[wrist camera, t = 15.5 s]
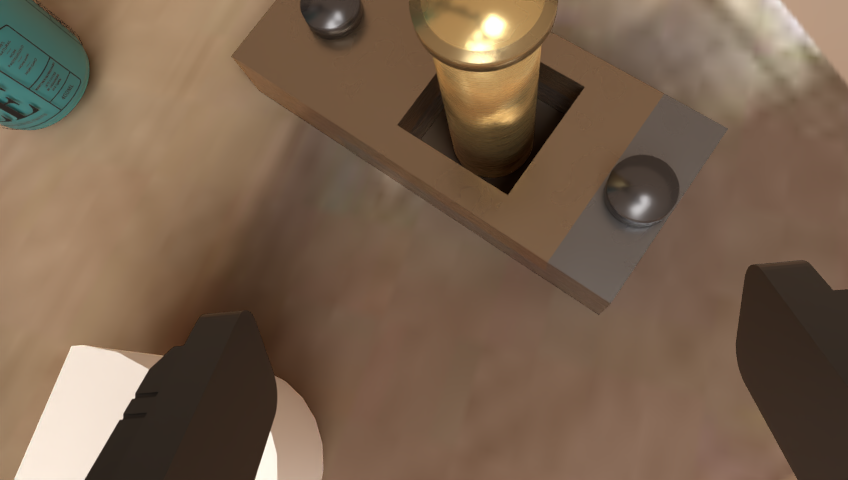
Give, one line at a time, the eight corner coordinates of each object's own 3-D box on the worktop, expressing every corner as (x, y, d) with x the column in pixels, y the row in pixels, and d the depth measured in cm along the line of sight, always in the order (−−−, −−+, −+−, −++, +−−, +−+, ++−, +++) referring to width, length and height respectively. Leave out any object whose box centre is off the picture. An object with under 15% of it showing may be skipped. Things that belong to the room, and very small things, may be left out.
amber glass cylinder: (426, 152, 32) (379, 15, 21) (480, 79, 33) (464, -94, 22) (505, 203, 31) (502, 88, 20) (560, 126, 32) (588, -30, 20)
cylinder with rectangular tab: (182, 341, 32) (-5, 308, 20) (350, 400, 30) (250, 400, 18) (109, 526, 30) (-141, 605, 19) (282, 600, 28) (125, 738, 17)
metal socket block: (259, 90, 35) (222, 45, 30) (359, -36, 36) (337, -97, 31) (599, 314, 29) (614, 299, 25) (703, 159, 31) (736, 118, 26)
